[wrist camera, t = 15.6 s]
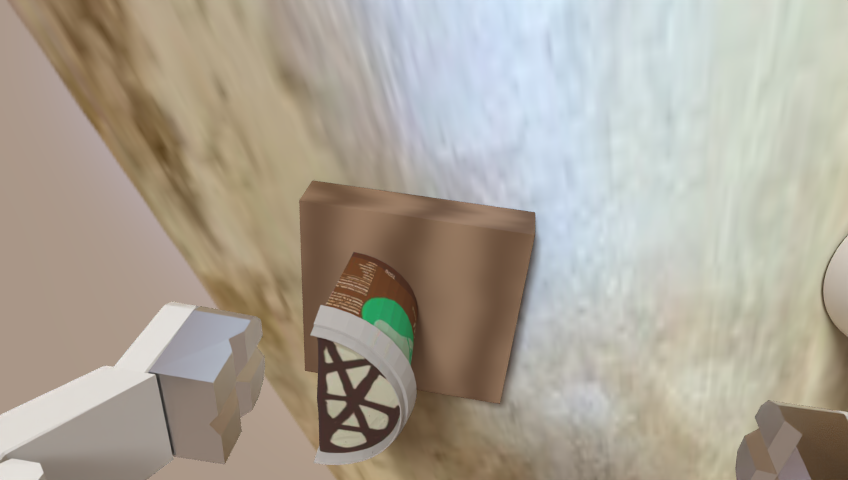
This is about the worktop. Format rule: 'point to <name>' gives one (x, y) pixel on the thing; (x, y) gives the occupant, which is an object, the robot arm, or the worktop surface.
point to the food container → (364, 361)
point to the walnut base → (426, 276)
